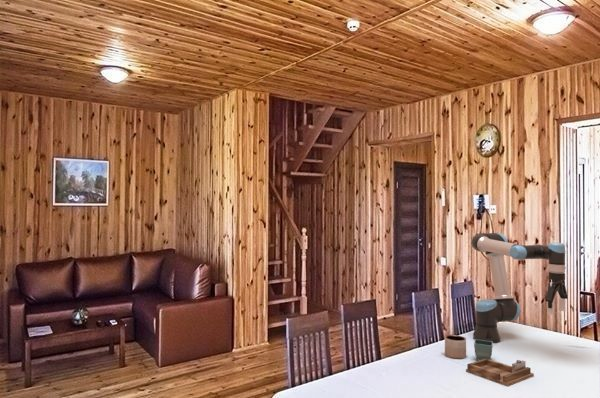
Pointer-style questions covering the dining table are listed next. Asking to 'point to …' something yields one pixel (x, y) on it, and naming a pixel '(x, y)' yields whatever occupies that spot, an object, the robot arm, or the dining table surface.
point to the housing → (498, 372)
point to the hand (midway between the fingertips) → (556, 312)
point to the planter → (455, 346)
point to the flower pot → (483, 349)
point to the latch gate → (518, 365)
